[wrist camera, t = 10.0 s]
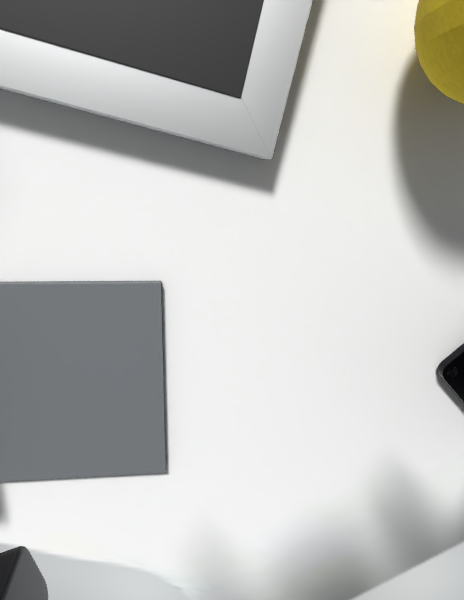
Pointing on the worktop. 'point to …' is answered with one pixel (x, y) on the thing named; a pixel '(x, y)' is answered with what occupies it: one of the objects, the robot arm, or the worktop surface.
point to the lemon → (442, 44)
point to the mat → (81, 379)
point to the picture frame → (161, 63)
